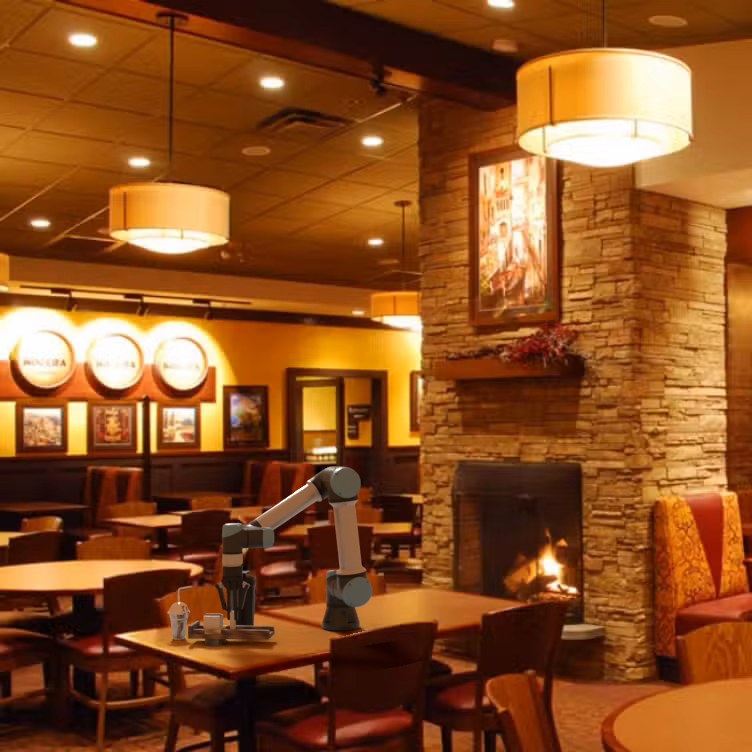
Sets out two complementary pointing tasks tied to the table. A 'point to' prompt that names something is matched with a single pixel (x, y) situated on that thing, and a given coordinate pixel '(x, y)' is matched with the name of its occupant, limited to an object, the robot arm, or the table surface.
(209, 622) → the rider
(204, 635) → the brown wooden tray
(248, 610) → the water bottle
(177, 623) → the cup with straw
